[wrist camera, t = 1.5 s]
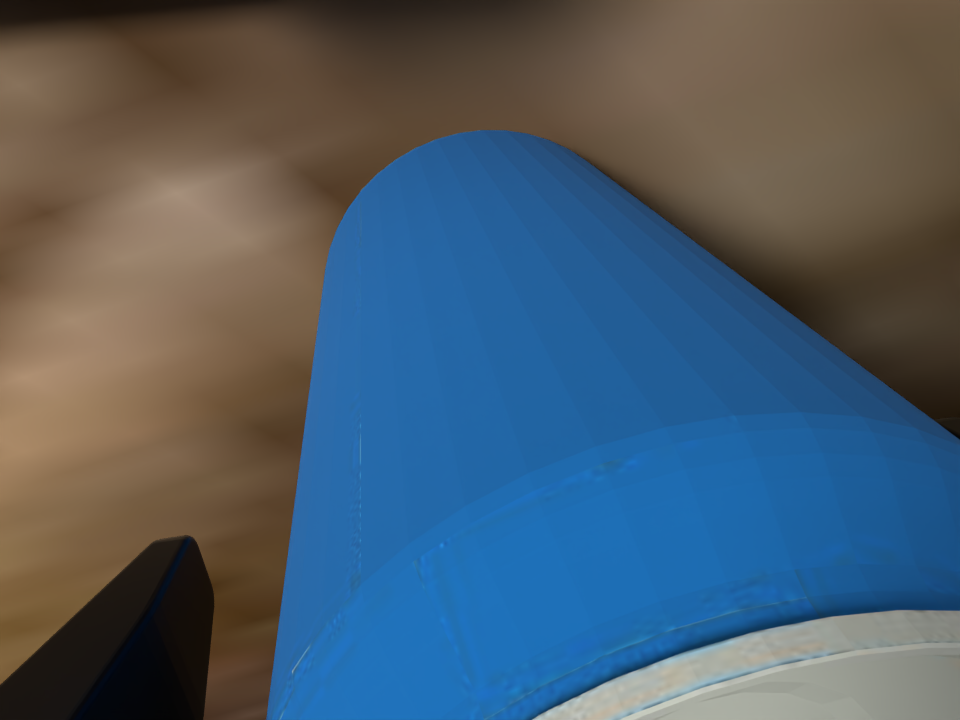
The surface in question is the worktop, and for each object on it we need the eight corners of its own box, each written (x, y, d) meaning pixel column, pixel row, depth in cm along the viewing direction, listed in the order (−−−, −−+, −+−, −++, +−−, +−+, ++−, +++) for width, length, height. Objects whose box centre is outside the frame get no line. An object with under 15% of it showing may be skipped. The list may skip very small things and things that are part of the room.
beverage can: (390, 446, 17) (439, 1233, 6) (272, 185, 13) (-43, 875, 3) (650, 358, 17) (1156, 997, 6) (593, 76, 13) (1433, 379, 3)
